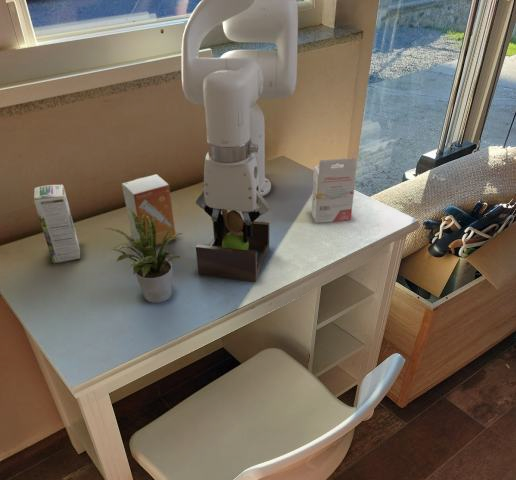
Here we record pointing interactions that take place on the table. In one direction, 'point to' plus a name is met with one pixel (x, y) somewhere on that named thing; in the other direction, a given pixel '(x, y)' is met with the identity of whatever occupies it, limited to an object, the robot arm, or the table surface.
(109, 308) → the table surface
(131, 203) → the small box
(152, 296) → the house plant
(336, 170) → the ink cartridge box
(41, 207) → the syrup box
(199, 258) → the frame
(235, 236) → the snail figurine
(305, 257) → the table surface
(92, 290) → the table surface
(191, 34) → the robot arm
